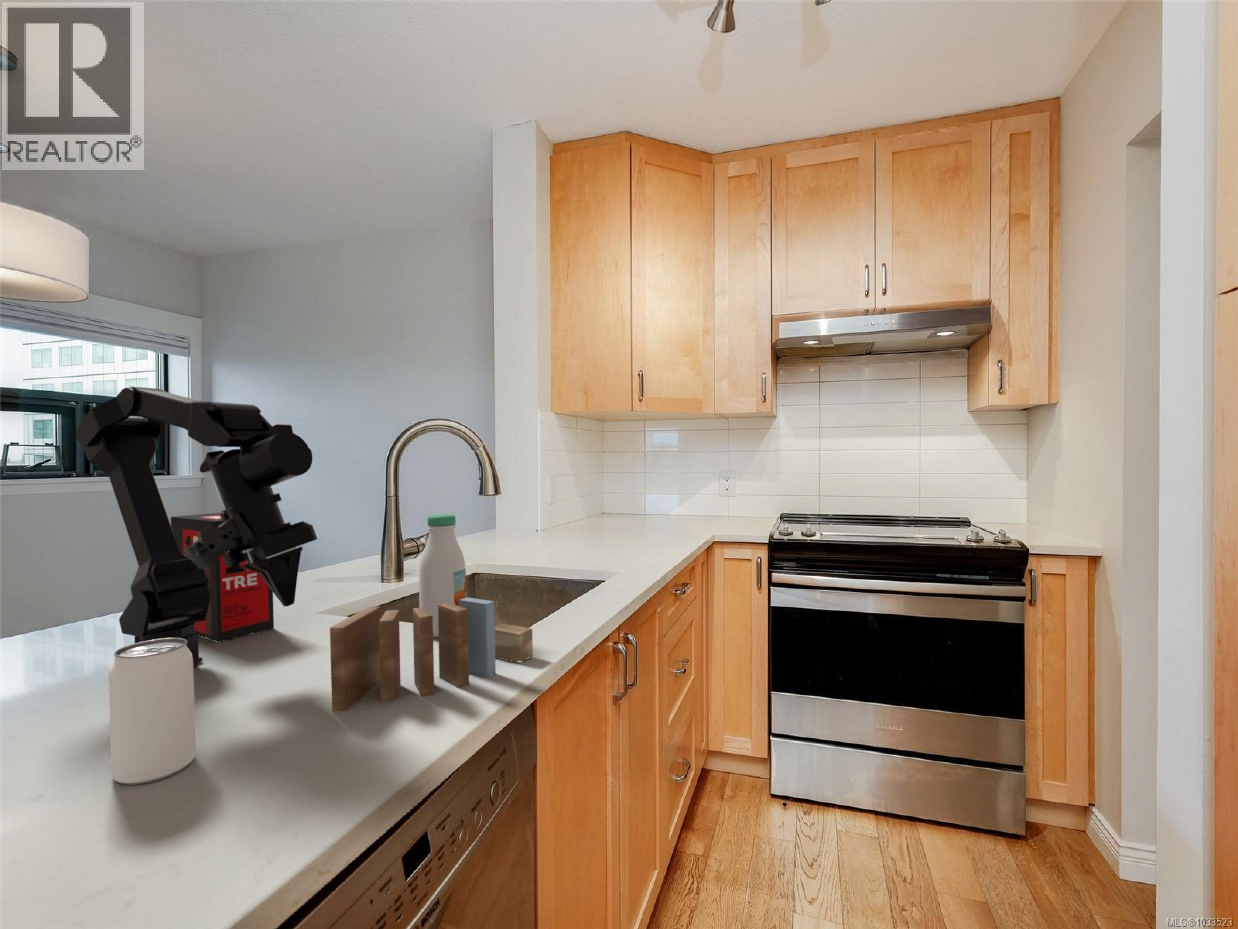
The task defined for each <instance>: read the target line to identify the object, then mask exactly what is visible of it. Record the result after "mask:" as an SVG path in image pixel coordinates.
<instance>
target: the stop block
mask: <svg viewBox="0 0 1238 929" xmlns="http://www.w3.org/2000/svg"><path fill="white" fill-rule="evenodd" d="M533 648H534V647H533V628H530V627H524V626H518V625H512V624H507V623H499V624H497V625H496V624H495V657H498V658H503V659H507V660H506V661H508V660H512V661H511V662H513V661H523V660H525V659H526V658H528V657H531V656H533V655H534V654H533V653H534V650H533ZM533 657H534V656H533ZM498 658H497V659H498ZM531 658H532V657H531ZM503 659H502V660H503ZM525 661H526V660H525ZM523 662H524V661H523Z"/></svg>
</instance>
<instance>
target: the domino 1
mask: <svg viewBox="0 0 1238 929" xmlns="http://www.w3.org/2000/svg"><path fill="white" fill-rule="evenodd" d="M381 612H382V610H381V606H368V607H366V608H364V609H362V610H360V611H358V612H357V613H355V614H353V615H351V616H350V617H347V618H346V619H344V620H342V621H340V622H338V623H336V624H334V625H333V626H331V627H329V641H330V642H329V644H330V645H329V646H330V648H329V649H330V677H331V678H330V680H331V681H330V682H331V711H332V712H346V711H348V710H349V709H350V708H351V707H353V705H355V704H356V703H357V702H358V701H359V700H361V699H362V698H363V697H365V695H367V694H368V693H369V692H370V691H372V689H374V688H375V687H376V686H377V685H379V684H381V680H380V636H379V621H380V619H381V618H382V616H381V615H382V614H381Z"/></svg>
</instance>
